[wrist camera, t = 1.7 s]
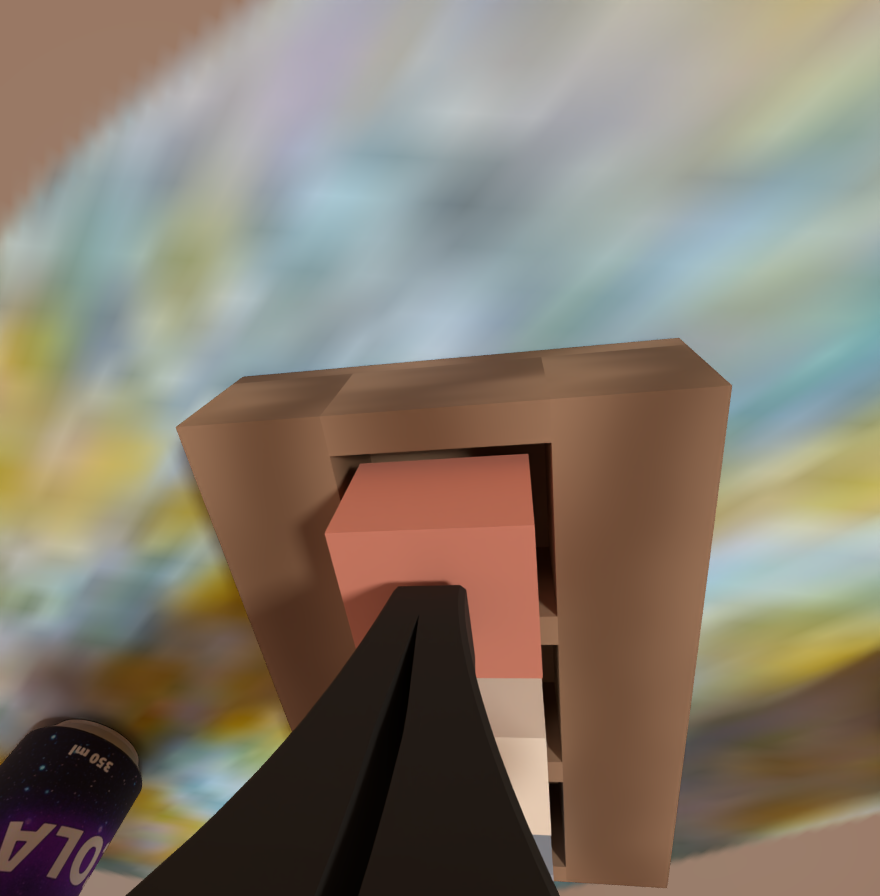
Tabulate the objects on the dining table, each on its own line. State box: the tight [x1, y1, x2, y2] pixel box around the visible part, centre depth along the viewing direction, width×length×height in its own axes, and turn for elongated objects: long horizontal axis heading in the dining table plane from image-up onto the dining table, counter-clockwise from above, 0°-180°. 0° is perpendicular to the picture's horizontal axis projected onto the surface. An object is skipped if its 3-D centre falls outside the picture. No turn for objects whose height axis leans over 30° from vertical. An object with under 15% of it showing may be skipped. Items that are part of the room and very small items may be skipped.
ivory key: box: [477, 678, 551, 835], centre depth 15 cm, size 4×4×3 cm
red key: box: [325, 454, 543, 678], centre depth 12 cm, size 4×4×3 cm
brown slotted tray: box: [176, 338, 732, 888], centre depth 17 cm, size 12×19×4 cm, turn 7°
